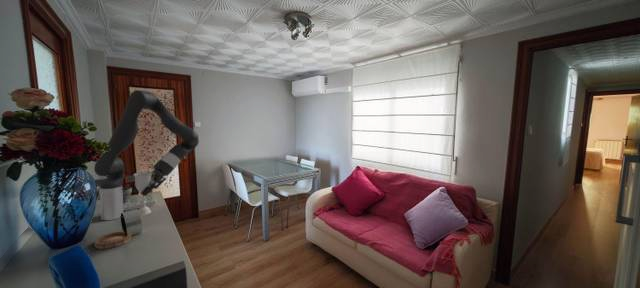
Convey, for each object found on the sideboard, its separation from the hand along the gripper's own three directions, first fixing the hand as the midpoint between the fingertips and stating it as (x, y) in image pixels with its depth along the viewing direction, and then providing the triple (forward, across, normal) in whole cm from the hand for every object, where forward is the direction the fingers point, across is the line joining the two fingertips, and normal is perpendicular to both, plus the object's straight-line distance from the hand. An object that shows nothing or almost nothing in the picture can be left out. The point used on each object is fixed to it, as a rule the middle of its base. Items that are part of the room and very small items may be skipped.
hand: (139, 193), depth 105 cm
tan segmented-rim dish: (+20, -8, +11) cm, 24 cm away
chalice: (+6, 0, +8) cm, 10 cm away
